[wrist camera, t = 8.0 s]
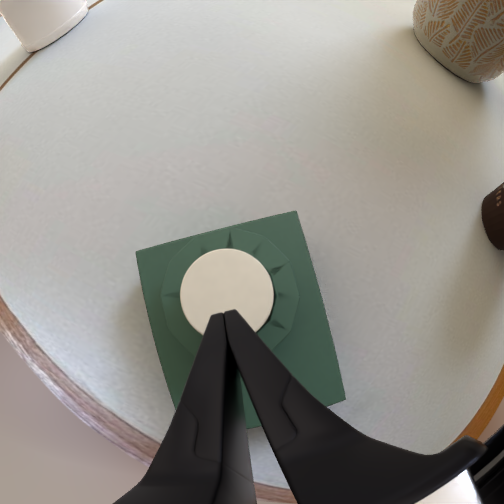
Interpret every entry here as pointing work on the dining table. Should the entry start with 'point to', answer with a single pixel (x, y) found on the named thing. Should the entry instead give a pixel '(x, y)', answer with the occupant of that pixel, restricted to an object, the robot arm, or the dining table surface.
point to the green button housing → (276, 326)
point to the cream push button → (226, 288)
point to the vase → (463, 35)
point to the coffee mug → (494, 216)
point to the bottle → (42, 19)
